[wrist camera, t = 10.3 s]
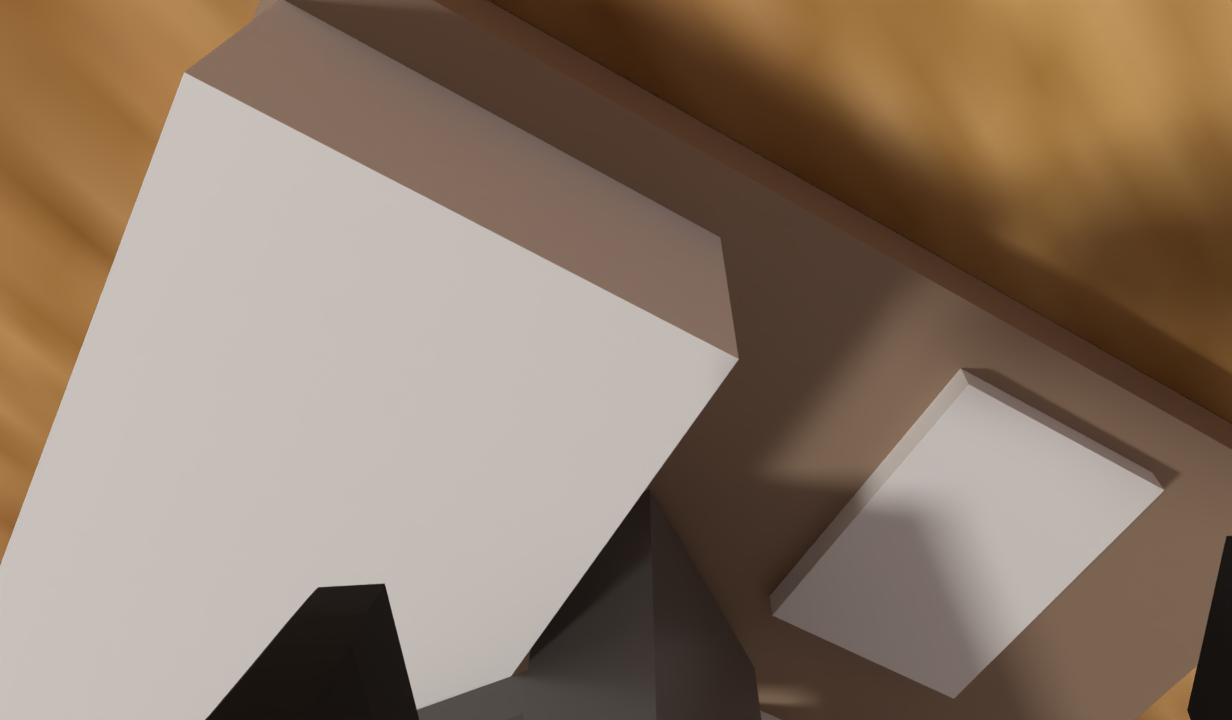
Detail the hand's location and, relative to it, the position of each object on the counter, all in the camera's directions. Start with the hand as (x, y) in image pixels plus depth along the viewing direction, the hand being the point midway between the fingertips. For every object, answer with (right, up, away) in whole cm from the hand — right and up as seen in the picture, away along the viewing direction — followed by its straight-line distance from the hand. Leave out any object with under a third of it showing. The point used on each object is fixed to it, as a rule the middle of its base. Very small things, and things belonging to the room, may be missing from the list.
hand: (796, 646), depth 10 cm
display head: (-2, -3, +13) cm, 13 cm away
